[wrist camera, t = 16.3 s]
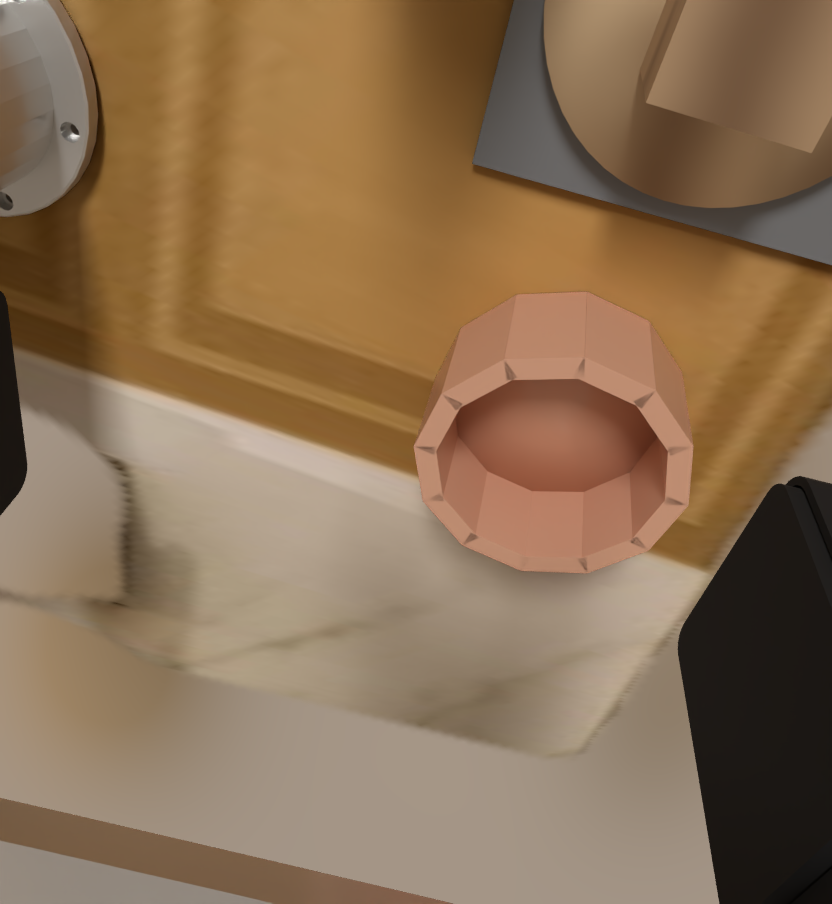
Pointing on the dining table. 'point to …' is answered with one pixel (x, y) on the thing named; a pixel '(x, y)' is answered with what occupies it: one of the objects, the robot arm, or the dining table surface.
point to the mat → (574, 169)
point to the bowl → (556, 435)
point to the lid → (698, 93)
